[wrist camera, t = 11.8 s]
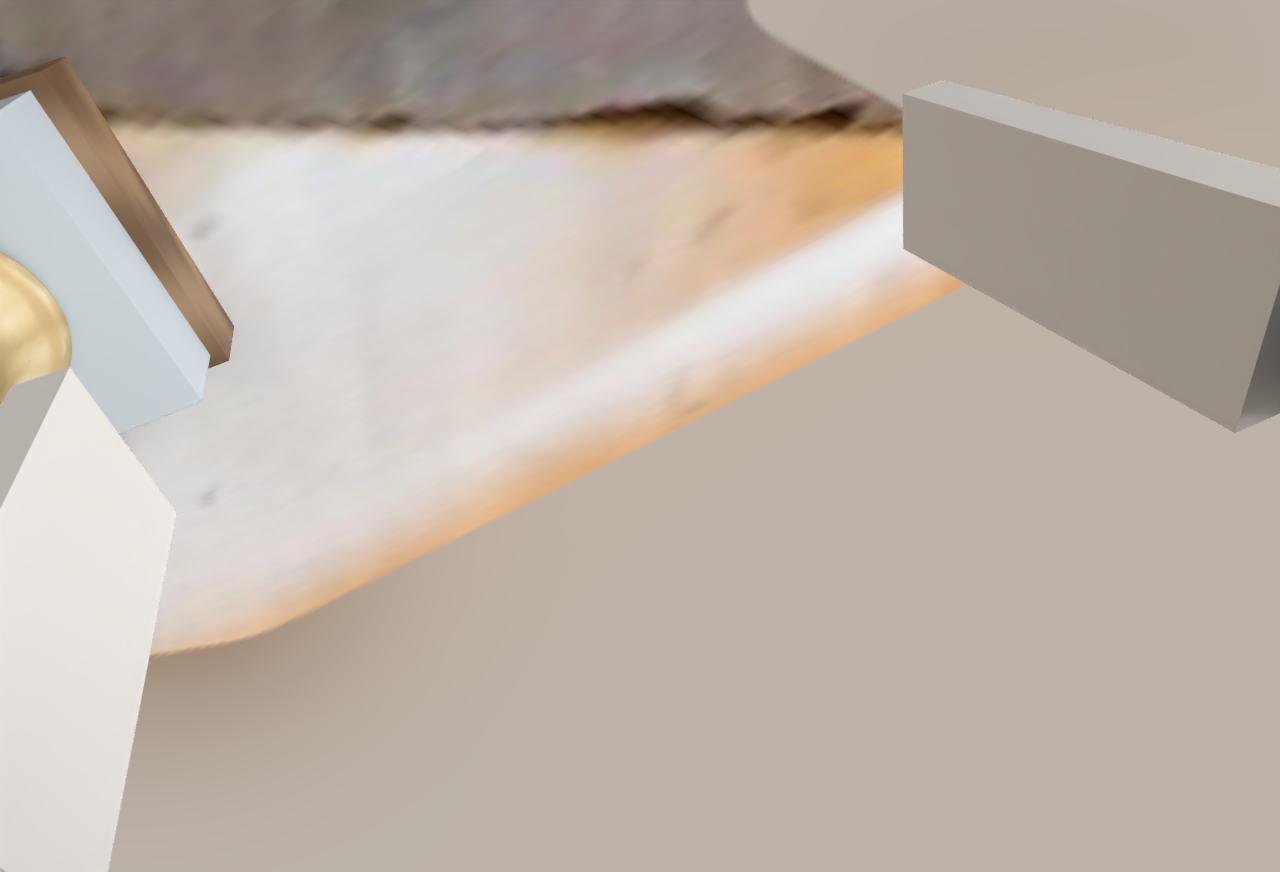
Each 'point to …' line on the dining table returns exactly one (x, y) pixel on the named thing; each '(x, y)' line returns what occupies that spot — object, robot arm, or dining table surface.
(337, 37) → the dining table surface
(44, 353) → the hand bell
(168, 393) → the top block
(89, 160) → the bottom block
